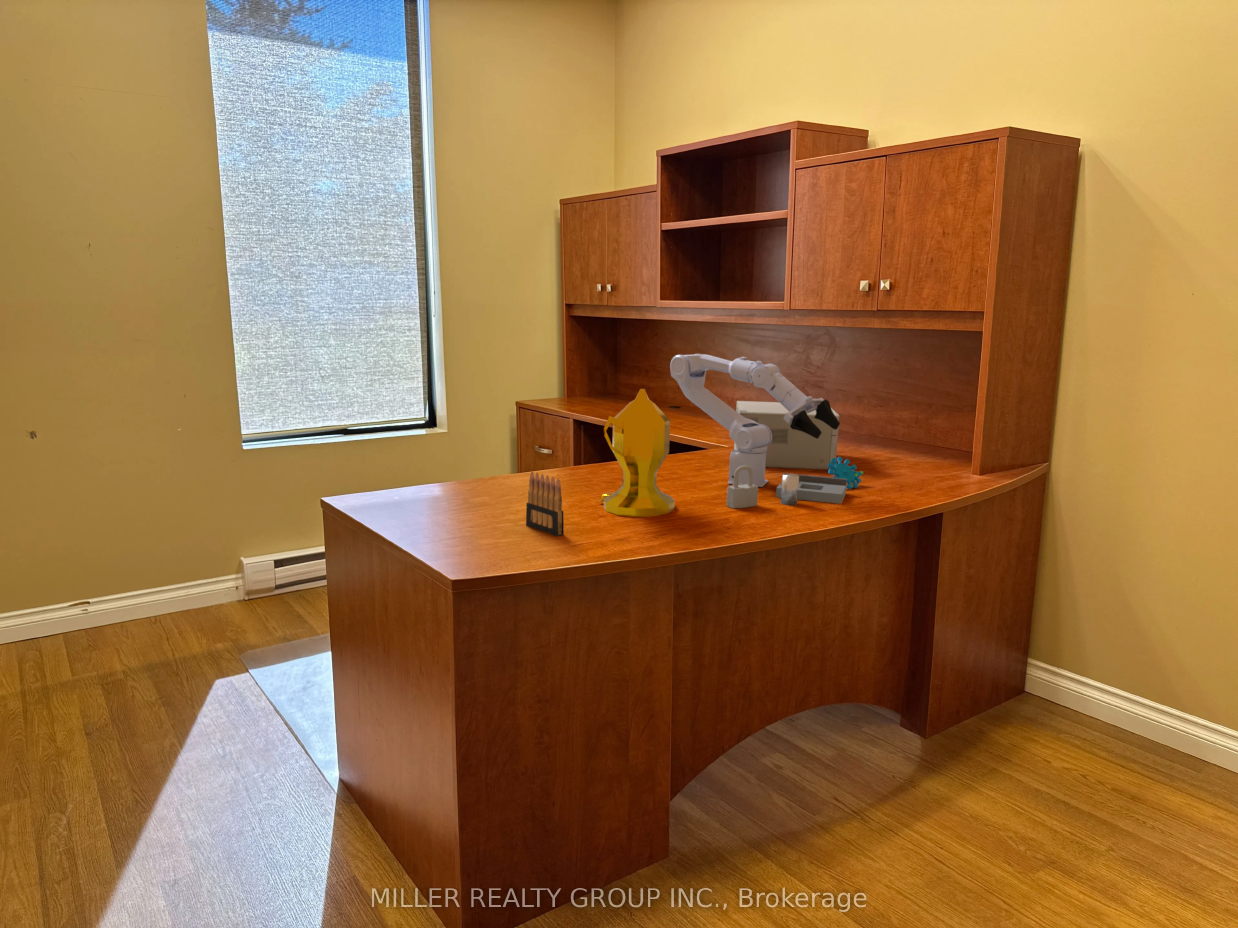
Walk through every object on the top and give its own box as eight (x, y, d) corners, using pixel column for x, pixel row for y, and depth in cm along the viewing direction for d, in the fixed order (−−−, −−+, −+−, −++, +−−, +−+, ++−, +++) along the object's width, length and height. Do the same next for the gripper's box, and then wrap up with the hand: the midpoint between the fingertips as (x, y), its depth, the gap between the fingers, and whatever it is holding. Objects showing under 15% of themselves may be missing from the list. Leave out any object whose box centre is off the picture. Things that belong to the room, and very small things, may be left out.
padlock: (748, 503, 208) (751, 462, 206) (758, 506, 205) (761, 466, 203) (724, 505, 205) (726, 464, 203) (734, 509, 201) (736, 468, 199)
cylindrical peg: (779, 504, 208) (781, 476, 206) (781, 500, 211) (783, 473, 210) (795, 505, 206) (797, 477, 205) (798, 502, 210) (800, 474, 209)
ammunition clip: (525, 525, 183) (525, 470, 181) (532, 523, 184) (532, 469, 182) (557, 536, 175) (557, 479, 173) (563, 534, 177) (564, 478, 174)
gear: (836, 484, 223) (825, 453, 228) (824, 496, 227) (814, 465, 233) (870, 488, 227) (859, 457, 232) (858, 500, 231) (847, 469, 237)
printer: (835, 471, 250) (839, 415, 247) (736, 466, 253) (739, 411, 250) (822, 454, 277) (826, 403, 274) (733, 450, 280) (736, 400, 276)
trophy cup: (575, 511, 196) (576, 389, 190) (634, 492, 216) (637, 382, 210) (638, 524, 186) (642, 396, 181) (694, 503, 206) (699, 388, 200)
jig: (776, 497, 215) (776, 481, 214) (783, 487, 226) (784, 473, 225) (841, 503, 209) (842, 488, 209) (845, 493, 220) (846, 478, 220)
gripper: (778, 393, 211) (817, 428, 205) (814, 378, 220) (852, 411, 214) (767, 413, 216) (805, 448, 210) (803, 398, 225) (840, 431, 219)
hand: (828, 431), depth 212 cm, fingers open, 7 cm apart
